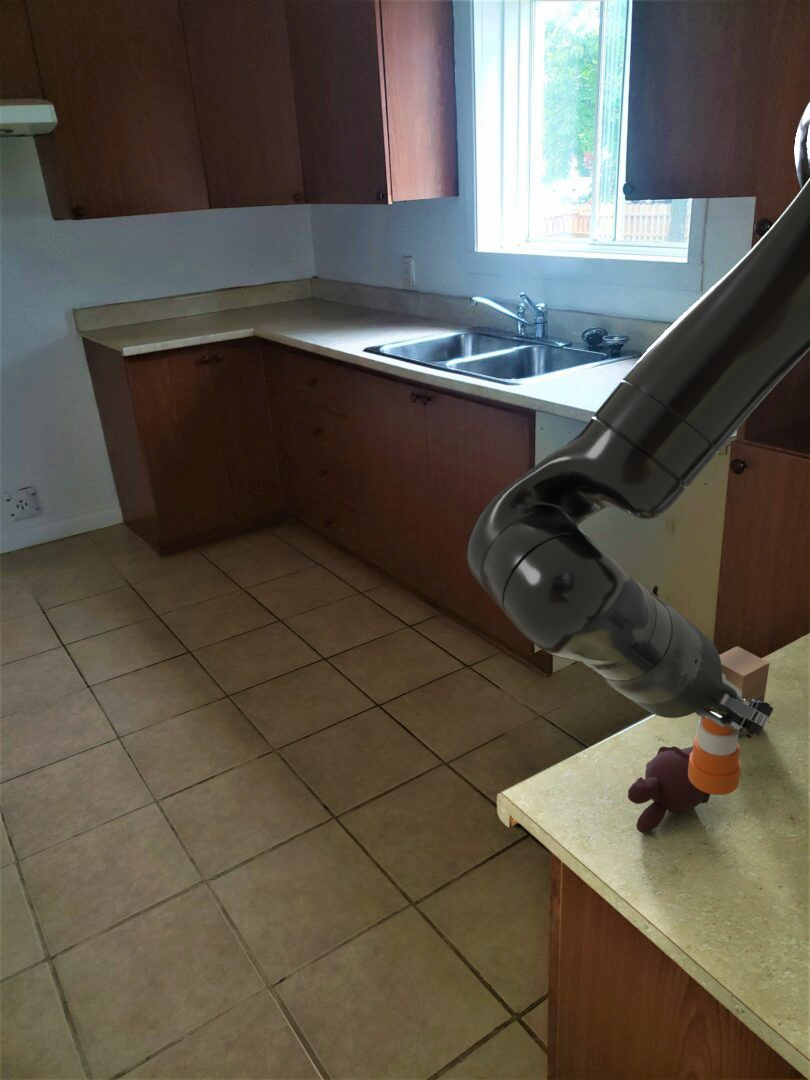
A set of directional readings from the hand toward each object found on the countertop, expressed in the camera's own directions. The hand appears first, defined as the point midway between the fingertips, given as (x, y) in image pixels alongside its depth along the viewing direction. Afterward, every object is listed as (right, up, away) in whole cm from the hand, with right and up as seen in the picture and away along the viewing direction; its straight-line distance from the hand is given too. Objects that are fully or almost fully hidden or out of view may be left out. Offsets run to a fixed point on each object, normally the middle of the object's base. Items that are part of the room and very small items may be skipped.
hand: (731, 715), depth 73 cm
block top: (+10, -2, +24) cm, 27 cm away
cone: (-1, -6, +2) cm, 6 cm away
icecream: (0, -13, +16) cm, 20 cm away
